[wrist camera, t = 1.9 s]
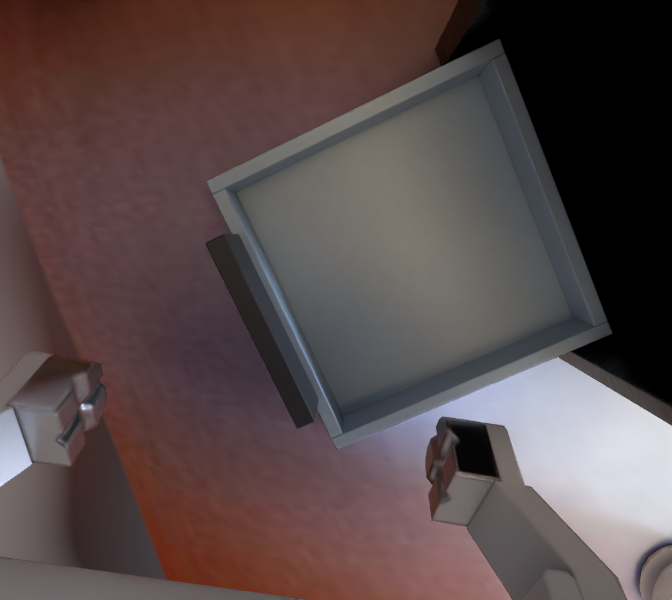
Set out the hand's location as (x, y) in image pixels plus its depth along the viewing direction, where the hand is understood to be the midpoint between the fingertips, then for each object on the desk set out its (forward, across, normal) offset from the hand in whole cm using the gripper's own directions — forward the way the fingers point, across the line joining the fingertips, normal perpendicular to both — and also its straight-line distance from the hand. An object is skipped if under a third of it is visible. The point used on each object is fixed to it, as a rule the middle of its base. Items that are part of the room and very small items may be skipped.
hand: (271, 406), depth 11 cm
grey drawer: (+12, -4, +2) cm, 13 cm away
